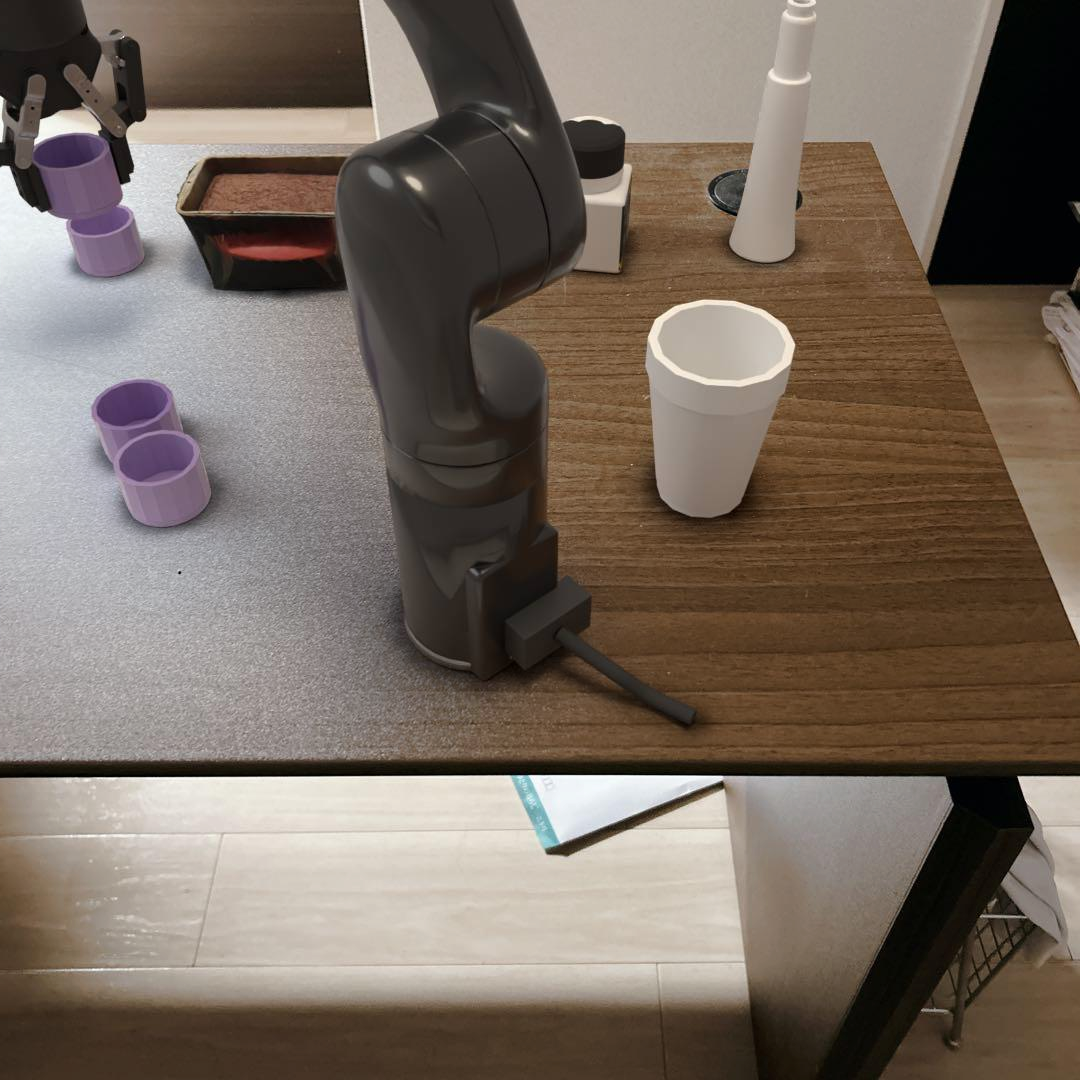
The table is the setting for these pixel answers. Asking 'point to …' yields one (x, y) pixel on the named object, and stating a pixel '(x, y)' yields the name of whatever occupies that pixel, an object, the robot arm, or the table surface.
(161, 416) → the dish
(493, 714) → the table surface
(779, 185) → the cosmetic bottle
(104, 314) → the table surface
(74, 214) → the dish
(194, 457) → the dish
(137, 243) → the dish far
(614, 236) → the medicine bottle
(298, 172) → the baking dish
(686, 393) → the foam cup
